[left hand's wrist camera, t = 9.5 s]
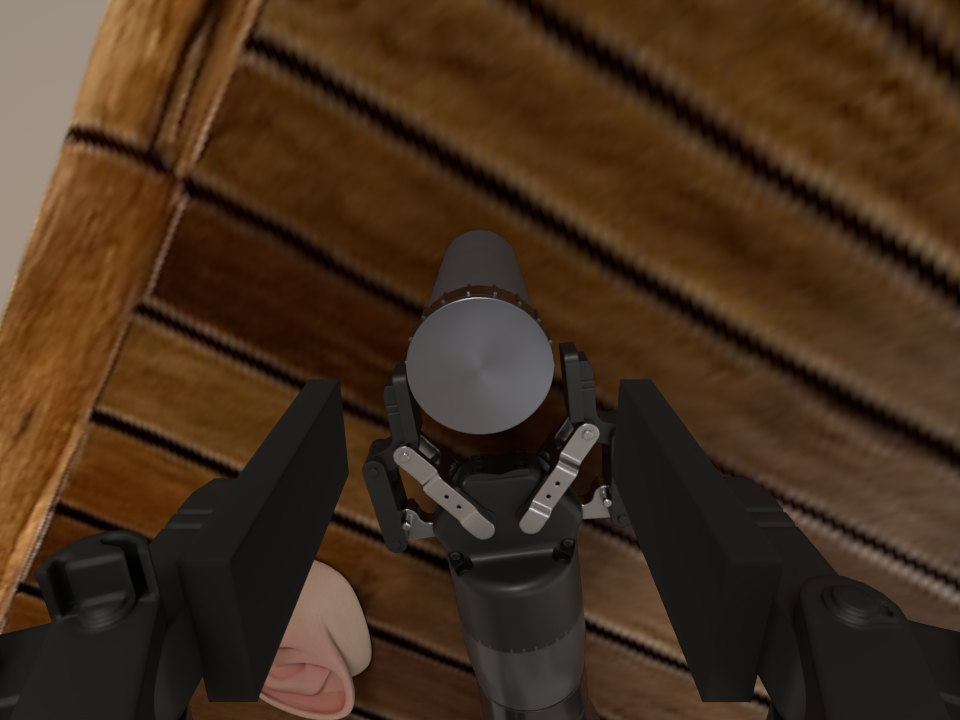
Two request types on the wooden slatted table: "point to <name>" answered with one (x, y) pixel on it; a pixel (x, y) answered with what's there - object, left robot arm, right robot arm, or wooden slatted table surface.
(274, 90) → the wooden slatted table surface
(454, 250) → the dark grey cylinder
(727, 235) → the wooden slatted table surface
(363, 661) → the anatomical model
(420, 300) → the wooden slatted table surface
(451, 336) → the lid
